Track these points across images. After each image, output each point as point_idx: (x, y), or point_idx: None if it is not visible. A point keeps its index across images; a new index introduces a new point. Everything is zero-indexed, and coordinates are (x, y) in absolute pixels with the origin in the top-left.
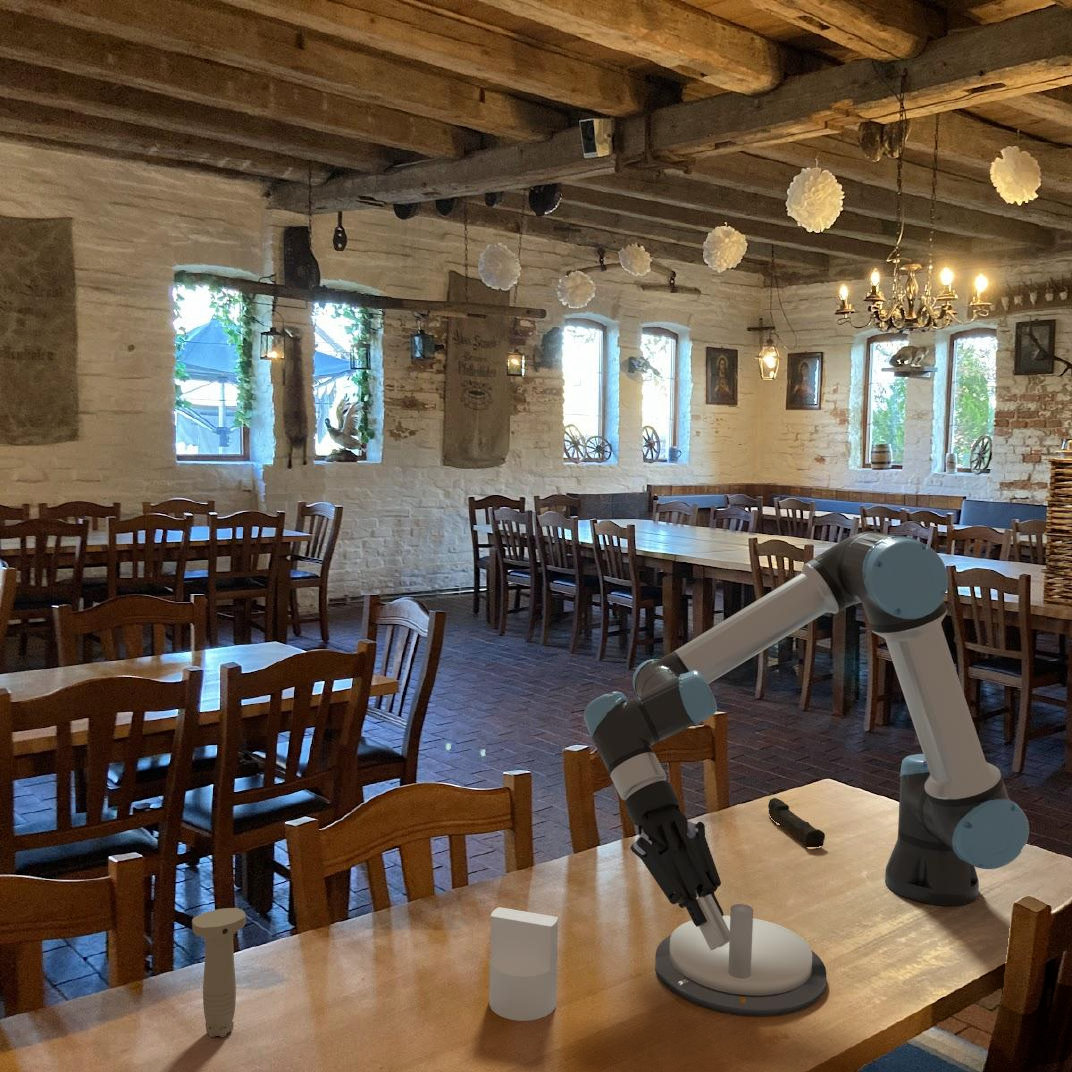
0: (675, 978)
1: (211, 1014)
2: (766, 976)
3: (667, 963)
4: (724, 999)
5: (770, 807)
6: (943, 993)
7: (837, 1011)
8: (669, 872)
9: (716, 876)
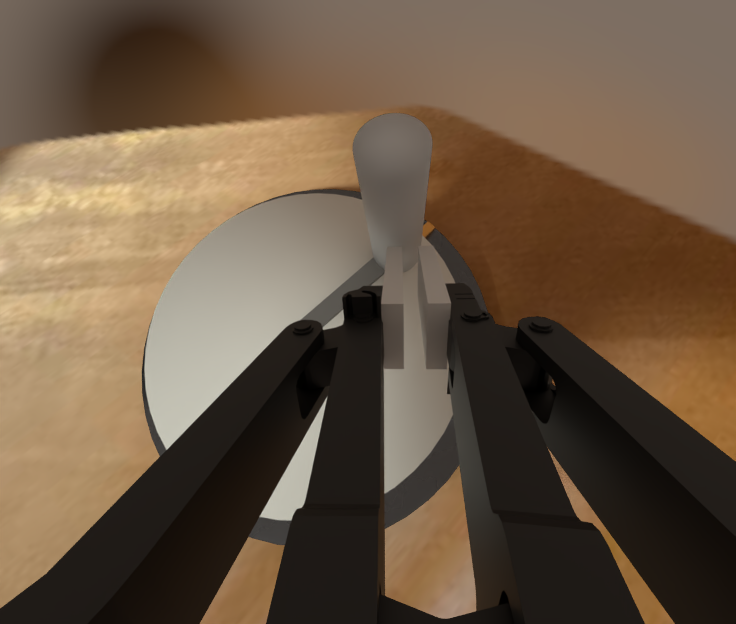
0: None
1: None
2: (361, 215)
3: (449, 430)
4: (449, 254)
5: None
6: (130, 134)
7: (292, 173)
8: (620, 404)
9: (286, 342)
